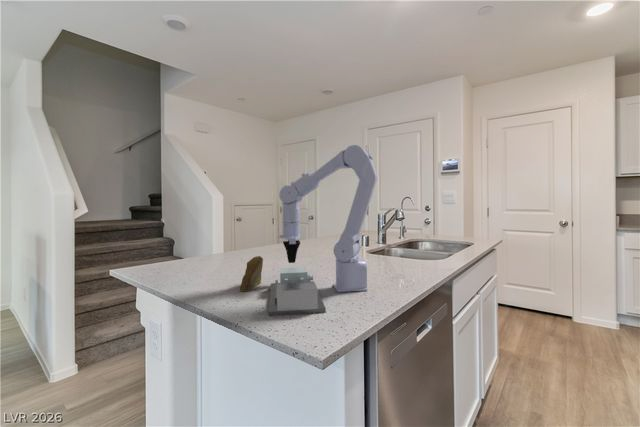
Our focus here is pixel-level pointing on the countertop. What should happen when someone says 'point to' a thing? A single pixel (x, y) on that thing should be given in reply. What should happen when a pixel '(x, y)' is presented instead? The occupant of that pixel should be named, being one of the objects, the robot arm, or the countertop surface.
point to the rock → (252, 274)
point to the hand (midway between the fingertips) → (291, 262)
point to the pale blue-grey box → (294, 275)
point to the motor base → (295, 299)
